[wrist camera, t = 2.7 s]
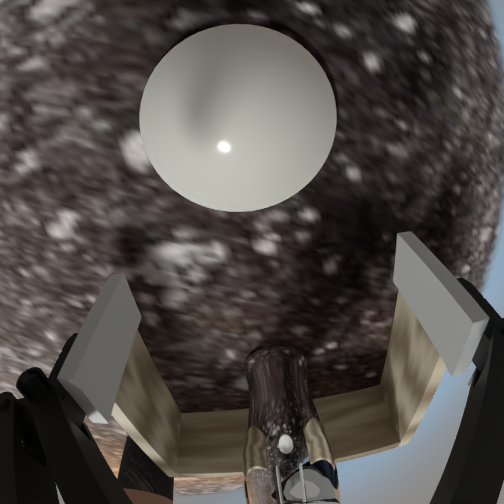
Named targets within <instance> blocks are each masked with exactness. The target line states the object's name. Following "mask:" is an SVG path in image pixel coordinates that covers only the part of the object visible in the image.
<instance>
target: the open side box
mask: <svg viewBox="0 0 504 504" xmlns="http://www.w3.org/2000/svg"><path fill="white" fill-rule="evenodd" d="M445 369H446V365H445V363H444V362H443V360H442V358H441V357H440V355H439V353H438V351H437V350H436V348H435V346H434V345H433V343H432V341H431V340H430V338H429V336H428V335H427V333H426V332H425V330H424V328H423V327H422V325H421V324H420V322H419V320H418V319H417V317H416V316H415V314H414V312H413V311H412V309H411V308H410V306H409V305H408V303H407V302H406V300H405V299H404V297H403V296H402V294H401V293H400V291H399V290H398V296H397V303H396V309H395V315H394V320H393V326H392V331H391V336H390V341H389V346H388V351H387V356H386V360H385V364H384V369H383V373H382V377H381V381H380V385H377V386H373V387H369V388H365V389H360V390H356V391H352V392H347V393H342V394H337V395H333V396H327V397H322V398H317V399H313V402H314V404H315V406H316V409H317V411H318V413H319V415H320V417H321V420H322V422H323V424H324V426H325V429H326V431H327V434H328V437H329V439H330V442H331V445H332V449H333V453H334V457H335V462H336V463H338V462H342V461H347V460H351V459H355V458H359V457H364V456H367V455H371V454H375V453H378V452H382V451H386V450H389V449H393V448H396V447H399V446H402V445H405V444H408V443H409V441H410V440H411V438H412V436H413V434H414V433H415V431H416V429H417V427H418V425H419V423H420V422H421V420H422V418H423V416H424V414H425V412H426V410H427V408H428V406H429V404H430V402H431V400H432V398H433V396H434V394H435V391H436V389H437V387H438V385H439V383H440V381H441V378H442V376H443V374H444V372H445ZM248 412H249V408H246V409H236V410H225V411H211V412H193V413H182V412H181V411H180V409H179V407H178V406H177V404H176V402H175V400H174V399H173V397H172V395H171V393H170V391H169V390H168V388H167V386H166V384H165V382H164V381H163V379H162V377H161V375H160V373H159V371H158V369H157V367H156V366H155V364H154V362H153V360H152V358H151V356H150V354H149V352H148V350H147V348H146V346H145V344H144V342H143V340H142V338H141V336H140V334H139V331H138V329H137V332H136V335H135V338H134V341H133V344H132V347H131V350H130V354H129V357H128V360H127V363H126V366H125V369H124V373H123V376H122V379H121V382H120V386H119V389H118V392H117V396H116V399H115V403H114V406H113V410H112V413H111V415H112V416H113V417H114V418H115V420H116V421H117V422H118V423H119V424H120V425H121V427H122V428H123V429H124V430H125V431H126V432H127V434H128V435H129V436H130V437H131V438H132V439H133V440H134V441H135V442H136V444H137V445H138V446H139V447H140V448H141V449H142V450H143V451H144V452H145V453H146V454H147V455H148V456H149V457H150V458H151V459H152V460H153V461H154V462H155V463H156V464H157V465H158V466H159V467H160V468H161V469H162V470H163V471H164V472H165V473H166V474H167V475H168V476H169V477H231V476H243V473H242V454H243V445H244V437H245V431H246V425H247V419H248Z"/></svg>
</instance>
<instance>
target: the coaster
mask: <svg viewBox="0 0 504 504" xmlns="http://www.w3.org/2000/svg"><path fill="white" fill-rule="evenodd" d="M336 122H337V115H336V104H335V98H334V94H333V91H332V87H331V84H330V82H329V80H328V78H327V76H326V74H325V72H324V70H323V69H322V67H321V66H320V64H319V63H318V62H317V60H316V59H315V58H314V57H313V56H312V55H311V54H310V53H309V52H308V51H307V50H306V49H305V48H304V47H303V46H301V45H300V44H299V43H297V42H296V41H294V40H293V39H291V38H290V37H288V36H286V35H284V34H282V33H280V32H278V31H275V30H272V29H269V28H266V27H261V26H256V25H249V24H230V25H222V26H217V27H213V28H209V29H206V30H203V31H201V32H198V33H196V34H194V35H192V36H190V37H188V38H186V39H185V40H183V41H182V42H180V43H179V44H178V45H176V46H175V47H174V48H173V49H171V50H170V51H169V52H168V53H167V54H166V55H165V56H164V57H163V59H162V60H161V61H160V62H159V64H158V65H157V66H156V68H155V69H154V71H153V73H152V74H151V76H150V78H149V80H148V82H147V85H146V87H145V89H144V93H143V97H142V100H141V107H140V131H141V137H142V141H143V145H144V148H145V151H146V153H147V155H148V158H149V160H150V162H151V163H152V165H153V167H154V168H155V170H156V171H157V173H158V174H159V175H160V176H161V178H162V179H163V180H164V181H165V182H166V183H167V184H168V185H169V186H170V187H171V188H172V189H174V190H175V191H176V192H178V193H179V194H180V195H182V196H183V197H185V198H187V199H189V200H191V201H192V202H195V203H197V204H200V205H202V206H204V207H208V208H212V209H216V210H222V211H231V212H243V211H253V210H258V209H263V208H266V207H269V206H272V205H275V204H278V203H280V202H282V201H284V200H286V199H288V198H289V197H291V196H293V195H294V194H296V193H297V192H298V191H300V190H301V189H302V188H303V187H305V186H306V185H307V184H308V183H309V182H310V181H311V180H312V179H313V178H314V177H315V175H316V174H317V173H318V171H319V170H320V169H321V167H322V166H323V164H324V162H325V160H326V158H327V157H328V154H329V152H330V149H331V147H332V144H333V140H334V136H335V131H336Z"/></svg>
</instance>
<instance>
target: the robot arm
mask: <svg viewBox="0 0 504 504" xmlns="http://www.w3.org/2000/svg"><path fill="white" fill-rule="evenodd" d="M393 282H394V284H395V285H396V287H397V288H398V290H399V291H400V293H401V294H402V296H403V297H404V299H405V300H406V302H407V303H408V305H409V306H410V308H411V309H412V311H413V312H414V314H415V316H416V317H417V319H418V320H419V322H420V324H421V325H422V327H423V328H424V330H425V332H426V333H427V335H428V336H429V338H430V340H431V341H432V343H433V345H434V346H435V348H436V350H437V351H438V353H439V355H440V357H441V358H442V360H443V362H444V363H445V365H446V367H447V369H448V371H449V372H450V374H451V376H452V377H453V376H455V375H458V374H461V373H464V372H466V371H467V370H468V369H469V366H470V364H471V362H472V361H473V363H474V364H475V366H476V369H475V371H474V373H473V375H472V377H471V379H470V381H469V383H468V385H469V386H470V384H471V387H470V391H469V395H468V399H467V403H466V407H465V410H464V414H463V417H462V420H461V424H460V427H459V430H458V433H457V436H456V439H455V442H454V445H453V448H452V451H451V454H450V457H449V459H448V462H447V464H446V467H445V470H444V472H443V475H442V477H441V480H440V482H439V484H438V486H437V489H436V491H435V493H434V495H433V498H432V500H431V502H430V504H496V503H497V500H498V497H499V494H500V491H501V488H502V484H503V481H504V318H501V317H500V316H499V314H498V313H497V312H496V311H495V310H494V308H493V307H492V306H491V305H490V304H489V303H488V301H487V300H486V299H485V298H483V296H482V295H481V293H480V292H478V290H477V289H476V288H475V287H474V286H473V285H472V283H470V282H468V281H467V280H465V279H463V278H458V279H456V278H455V277H454V276H453V275H452V274H451V273H450V271H449V270H448V269H447V268H446V267H445V266H444V265H443V264H442V263H441V262H440V261H439V260H438V258H437V257H436V256H435V255H434V254H433V253H432V252H431V251H430V250H429V249H428V248H427V247H426V246H425V245H424V244H423V243H422V242H421V241H420V240H419V239H418V238H417V237H416V236H415V235H414V234H413V233H412V232H411V231H410V232H403V233H397V245H396V256H395V267H394V276H393ZM141 318H142V316H141V314H140V312H139V309H138V307H137V305H136V302H135V300H134V297H133V295H132V292H131V290H130V287H129V285H128V282H127V280H126V277H125V275H124V273H119V274H112V275H110V276H109V278H108V280H107V281H106V283H105V285H104V287H103V288H102V290H101V292H100V294H99V296H98V297H97V299H96V301H95V303H94V305H93V307H92V308H91V310H90V312H89V314H88V316H87V318H86V320H85V322H84V324H83V326H82V327H81V329H80V331H79V333H74V334H73V335H72V336H71V337H70V338H69V339H68V340H67V341H66V343H65V345H64V347H63V349H62V352H61V353H60V355H59V359H57V361H56V363H55V365H54V367H53V369H52V371H51V374H50V376H49V378H47V376H46V375H45V374H44V372H43V371H42V370H41V369H40V368H38V367H32V368H30V369H27V370H26V371H24V372H23V373H22V374H21V375H20V377H19V378H18V380H17V383H16V388H17V389H18V390H19V391H20V393H21V394H22V395H23V396H24V397H25V398H21V399H16V397H15V396H14V395H13V394H12V393H11V392H3V393H1V394H0V504H59V500H58V494H57V489H56V485H57V487H58V489H59V492H60V494H61V496H62V498H63V500H64V502H65V504H133V503H132V501H131V500H130V498H129V497H128V495H127V494H126V492H125V491H124V489H123V488H122V486H121V485H120V483H119V482H118V480H117V478H116V477H115V475H114V474H113V472H112V470H111V469H110V467H109V465H108V464H107V462H106V460H105V458H104V457H103V455H102V453H101V451H100V449H99V448H98V446H97V444H96V442H95V440H94V438H93V436H92V435H91V433H90V431H89V429H88V427H87V425H86V424H85V423H84V422H83V421H84V418H85V415H87V416H88V418H89V419H90V420H91V421H92V422H93V423H105V424H109V421H110V417H111V413H112V410H113V406H114V403H115V399H116V396H117V392H118V389H119V386H120V382H121V379H122V376H123V373H124V369H125V366H126V363H127V360H128V357H129V354H130V350H131V347H132V344H133V341H134V338H135V335H136V332H137V329H138V326H139V324H140V321H141ZM55 482H56V483H55Z"/></svg>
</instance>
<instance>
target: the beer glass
mask: <svg viewBox="0 0 504 504" xmlns="http://www.w3.org/2000/svg"><path fill="white" fill-rule="evenodd" d="M244 374H245V378H246V381H247V385H248V389H249V396H250V405H249V412H248V419H247V425H246V431H245V437H244V445H243V454H242V473H243V486H244V493H245V500H246V504H341V502H340V492H339V482H338V473H337V468H336V462H335V457H334V453H333V449H332V445H331V442H330V439H329V437H328V434H327V431H326V429H325V426H324V424H323V422H322V420H321V417H320V415H319V413H318V411H317V409H316V406H315V404H314V402H313V399H312V397H311V394H310V390H309V385H308V360H307V357H306V355H305V354H304V353H303V352H302V351H301V350H299V349H298V348H296V347H293V346H289V345H271V346H266V347H263V348H261V349H258V350H257V351H255V352H253V353H252V354H251V355H250V356H249V357H248V358H247V359H246V361H245V364H244Z"/></svg>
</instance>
